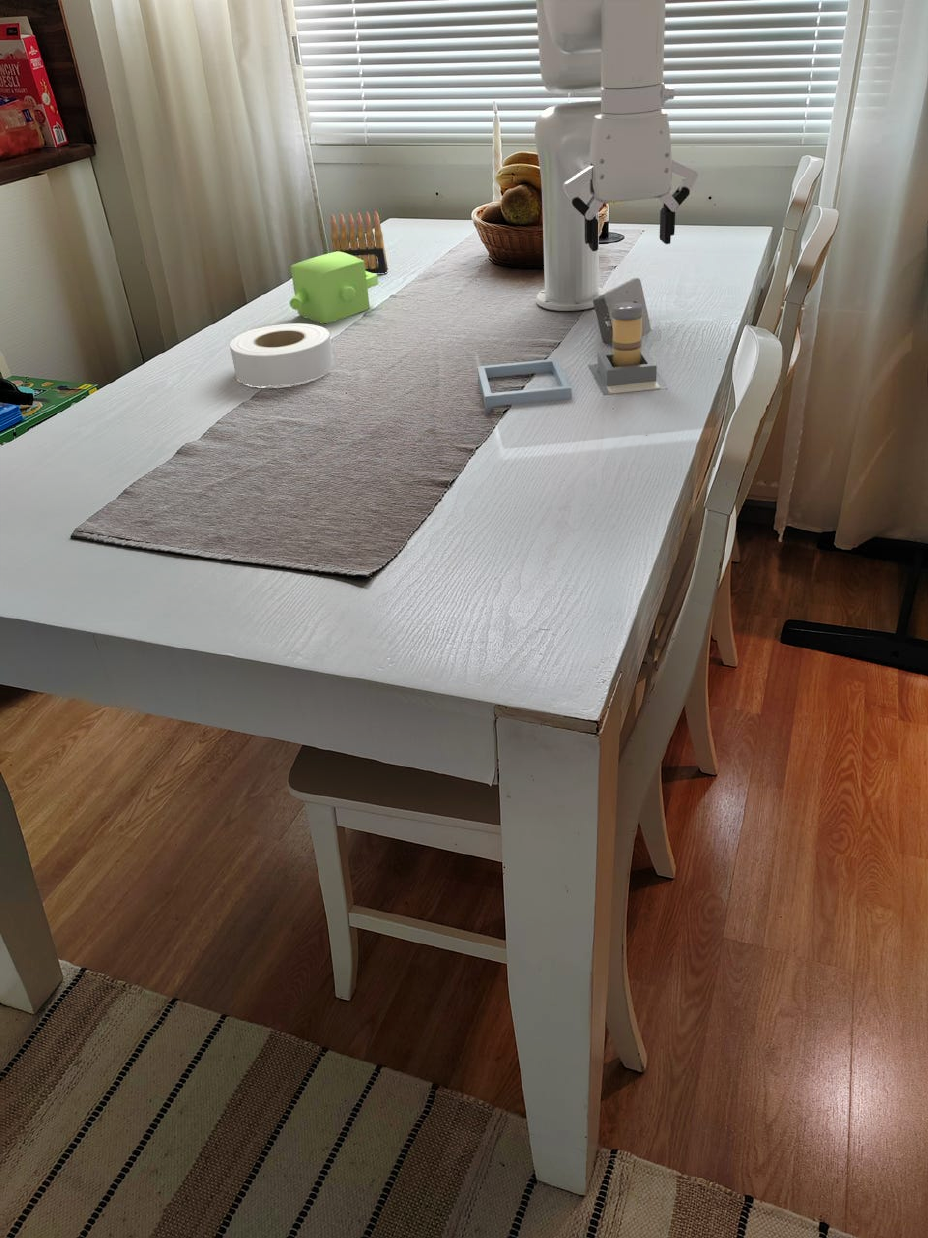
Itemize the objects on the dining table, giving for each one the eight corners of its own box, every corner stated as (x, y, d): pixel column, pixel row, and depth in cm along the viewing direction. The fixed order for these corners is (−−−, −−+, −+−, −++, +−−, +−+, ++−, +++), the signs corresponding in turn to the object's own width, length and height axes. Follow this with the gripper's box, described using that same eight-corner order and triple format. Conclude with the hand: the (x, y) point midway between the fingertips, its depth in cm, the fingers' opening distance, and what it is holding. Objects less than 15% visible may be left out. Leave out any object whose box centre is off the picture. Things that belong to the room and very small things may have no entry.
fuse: (608, 372, 144) (609, 303, 138) (637, 369, 144) (639, 300, 138) (614, 382, 140) (615, 312, 134) (644, 380, 140) (646, 309, 135)
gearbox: (308, 336, 173) (299, 282, 167) (277, 322, 179) (268, 270, 173) (388, 307, 182) (383, 255, 176) (357, 296, 188) (350, 245, 182)
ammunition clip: (388, 271, 202) (381, 209, 195) (386, 273, 201) (379, 211, 194) (337, 274, 203) (328, 212, 197) (335, 276, 202) (326, 215, 195)
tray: (478, 382, 147) (477, 366, 146) (558, 374, 147) (557, 358, 146) (486, 413, 137) (484, 396, 136) (571, 404, 137) (571, 387, 136)
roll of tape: (284, 349, 167) (278, 316, 164) (354, 362, 159) (349, 328, 156) (215, 380, 157) (207, 346, 154) (286, 396, 149) (280, 361, 146)
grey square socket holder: (587, 371, 147) (587, 348, 145) (647, 365, 148) (648, 342, 146) (603, 401, 137) (603, 377, 135) (667, 395, 138) (668, 370, 136)
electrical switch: (622, 354, 152) (618, 293, 148) (593, 352, 155) (589, 292, 151) (652, 336, 158) (649, 277, 154) (624, 334, 161) (621, 276, 157)
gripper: (692, 91, 125) (685, 232, 135) (557, 104, 125) (560, 245, 134) (709, 98, 119) (701, 245, 128) (567, 111, 119) (569, 258, 128)
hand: (629, 245), depth 131 cm, fingers open, 9 cm apart
